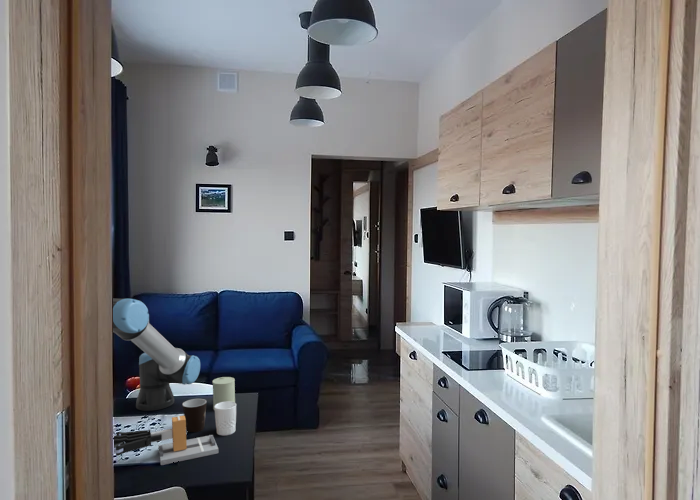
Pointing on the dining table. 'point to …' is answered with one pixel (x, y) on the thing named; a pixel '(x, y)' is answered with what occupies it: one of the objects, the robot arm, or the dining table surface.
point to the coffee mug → (195, 414)
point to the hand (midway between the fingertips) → (172, 433)
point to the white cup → (225, 417)
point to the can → (223, 390)
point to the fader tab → (179, 433)
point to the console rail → (188, 450)
